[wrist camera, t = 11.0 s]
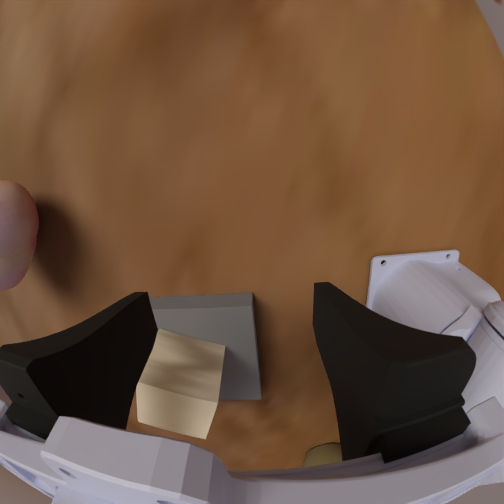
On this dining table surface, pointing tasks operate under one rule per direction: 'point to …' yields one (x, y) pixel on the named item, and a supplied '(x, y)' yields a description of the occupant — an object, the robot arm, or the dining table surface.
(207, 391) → the birch cube
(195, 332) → the charcoal base
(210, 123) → the dining table surface
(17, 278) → the decorative fruit
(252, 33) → the dining table surface
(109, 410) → the robot arm
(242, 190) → the dining table surface
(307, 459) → the squeeze bottle
